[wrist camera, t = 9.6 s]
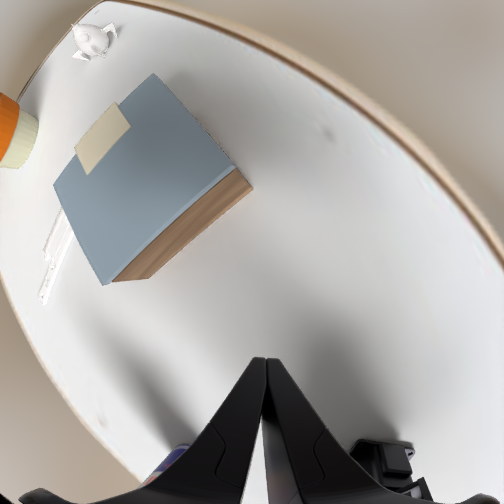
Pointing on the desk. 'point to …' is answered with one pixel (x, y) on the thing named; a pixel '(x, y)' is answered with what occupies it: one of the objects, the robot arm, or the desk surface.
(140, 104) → the lid
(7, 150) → the reusable coffee cup
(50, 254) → the white plastic blade
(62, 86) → the desk surface
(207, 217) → the box
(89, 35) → the rocket toy
